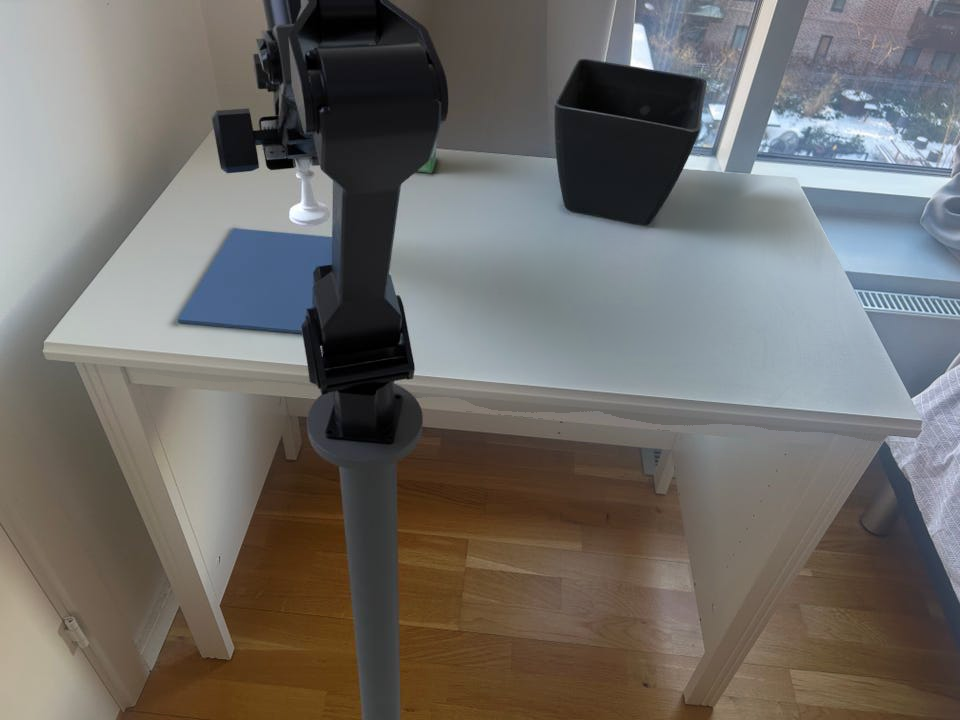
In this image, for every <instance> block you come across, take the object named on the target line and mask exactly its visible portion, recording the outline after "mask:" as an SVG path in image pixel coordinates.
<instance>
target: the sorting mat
mask: <svg viewBox="0 0 960 720" xmlns="http://www.w3.org/2000/svg"><path fill="white" fill-rule="evenodd" d="M324 265H332V236H324V235H311V234H301V233H293V232H280V231H268V230H257V229H246V228H237V227H234V228H233V229H232V230H231V232H230V234H229V235H228V237H227V239H226V240H225V242H224V243H223V245H222V246H221V248H220V250H219V252H218V253H217V255H216V256H215V258H214V260H213V261H212V262H211V265H210V266H209V267H208V269H207V271H206V272H205V274H204V276H203V278H202V279H201V280H200V282H199V284H198V285H197V287H196V289H195V290H194V292H193V294H192V295H191V297H190V298H189V300H188V301H187V303H186V305H185V307H184V308H183V310H182V311H181V313H180V315H179V316H178V318H177V323H179V324H190V325H199V326H211V327H221V328H222V327H223V328H234V329H243V330H245V329H246V330H254V331H255V330H256V331H265V332H266V331H268V332H278V333H289V334H299V335H302V329H301V325H302V324H303V322H304V321H305V316H307V315H306V308H311V307H313V305H312V293H313V286H314V284H313V272H314V270H315V269H316V267H317V266H324Z"/></svg>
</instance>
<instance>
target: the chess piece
mask: <svg viewBox="0 0 960 720" xmlns="http://www.w3.org/2000/svg"><path fill="white" fill-rule="evenodd" d="M311 160H312V157H303V158H295V162H296V164H297V165H298V168H299V170H298V171H296V174H295V176H296V178H297V179H300V180H301V197H300V199H301V201H300V202H298V203H296V204H294V205H293V206H292V207H290V209H289V214H288V217H289V219H290V221H291V222H293V223H294V224H296V225H298V226H304V227H314V226H317V225H318V226H319V225H321V224H324V223H325V222H327V221H328V220H329V219H330V217H331V213H330V209H329V207H328V206H327V205H326V204H324V203H322V202H319V201H317V200H316V199H315V196H314V191H313V188H312V183H311V179H313V178H314V177H315V172H314V171H313V170H312V169H311Z"/></svg>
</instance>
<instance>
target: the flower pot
mask: <svg viewBox="0 0 960 720" xmlns="http://www.w3.org/2000/svg"><path fill="white" fill-rule="evenodd" d="M574 64H575V65H574V66H573V68H572V71H571V72H570V74H569V77H568V78H567V81H566V82H565V84H564V86H563V87H562V90H561V91H560V93H559V95H558V96H557V98H556V100H555V102H554V145H555V156H556V157H555V158H556V166H557V167H556V168H557V174H558V181H559V186H560V191H561V192H560V193H561V197H562V202H563V205H564V208H565V209H567V210H568V211H571V212H577V213H581V214H587V215H591V216H595V217H600V218H605V219H610V220H615V221H621V222H624V223H625V222H626V223H631V224H635V225H640V226H648V225H650V224H651V223H652V222H653V220H654V219H655V218H656V216H657V215H658V213H659V212H660V210H661V209H662V207H663V206H664V204H665V203H666V201H667V199H668V197H669V196H670V194H671V193H672V191H673V189H674V188H675V186H676V184H677V181H678V180H679V178H680V176H681V173H682V172H683V170H684V168H685V166H686V164H687V162H688V160H689V157H690V156H691V153H692V150H693V148H694V147H695V143H696V141H697V139H698V137H699V135H700V131H701V128H702V119H703V112H704V111H703V110H704V104H705V98H706V92H707V86H708V81H707V79H705V78H702V77H698V76H693V75H688V74H687V75H686V74H680V73H675V72H669V71H664V70H663V71H662V70H657V69H651V68H645V67H639V66H633V65H628V64H627V65H626V64H620V63H614V62H608V61H601V60H595V59H589V58H579V59H578V60H576V62H575V63H574Z"/></svg>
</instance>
